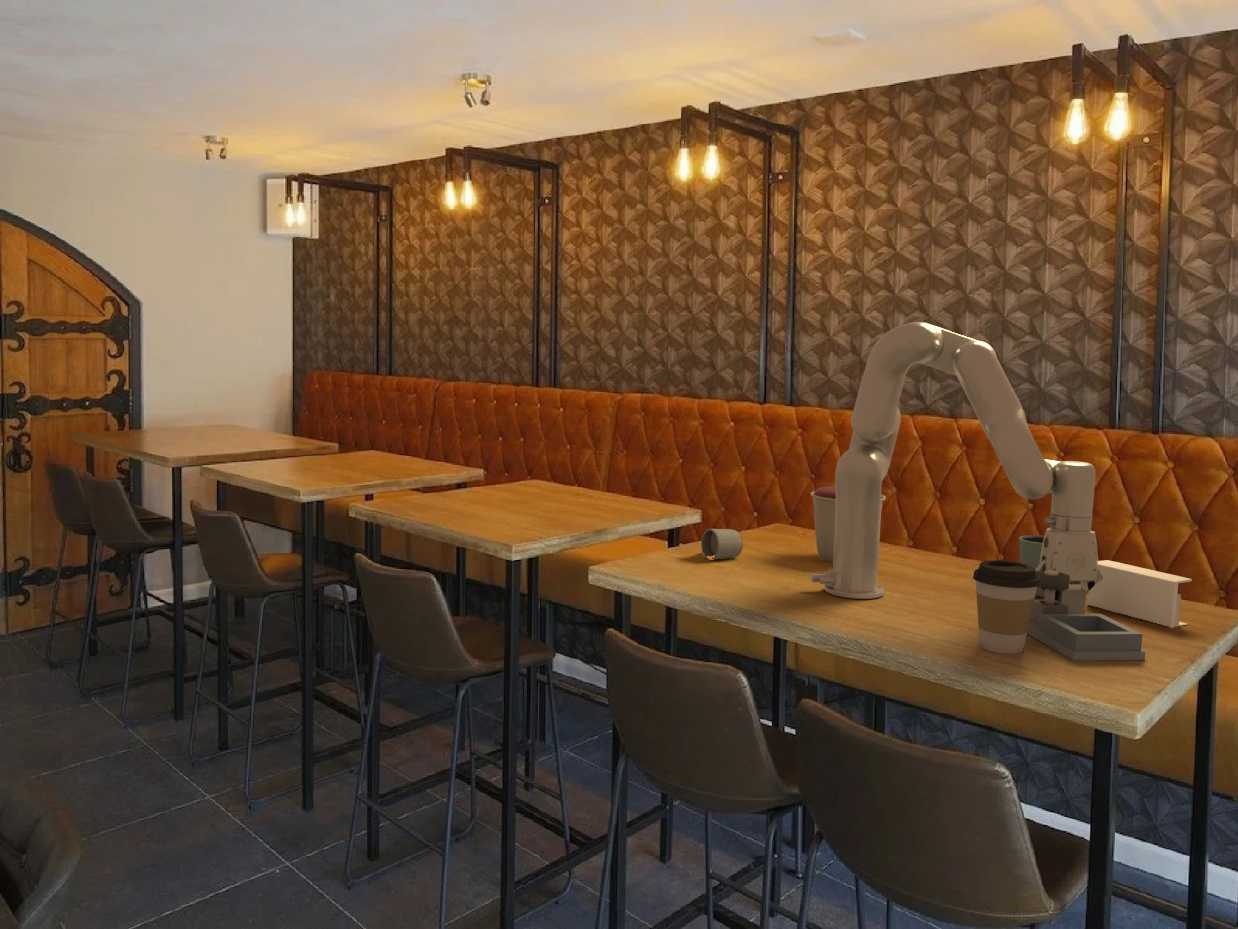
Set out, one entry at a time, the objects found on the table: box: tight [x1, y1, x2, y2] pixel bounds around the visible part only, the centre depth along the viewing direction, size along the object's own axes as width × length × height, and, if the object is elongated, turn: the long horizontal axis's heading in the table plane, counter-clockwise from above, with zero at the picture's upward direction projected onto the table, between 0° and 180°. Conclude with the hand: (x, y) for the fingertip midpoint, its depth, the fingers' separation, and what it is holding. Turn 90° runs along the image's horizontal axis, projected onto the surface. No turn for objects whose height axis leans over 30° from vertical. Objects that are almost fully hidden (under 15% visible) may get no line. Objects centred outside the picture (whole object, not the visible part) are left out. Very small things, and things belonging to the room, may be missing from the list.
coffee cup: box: [972, 559, 1041, 655], centre depth 179 cm, size 11×11×15 cm
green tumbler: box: [1018, 534, 1045, 598], centre depth 221 cm, size 10×10×12 cm
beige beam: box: [1086, 559, 1193, 628], centre depth 205 cm, size 20×6×9 cm, turn 28°
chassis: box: [1027, 599, 1146, 661], centre depth 185 cm, size 13×22×6 cm, turn 5°
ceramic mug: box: [700, 528, 744, 560], centre depth 251 cm, size 11×8×8 cm
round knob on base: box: [1036, 570, 1070, 605], centre depth 191 cm, size 6×6×7 cm
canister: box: [810, 485, 886, 563], centre depth 249 cm, size 18×18×21 cm
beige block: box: [1055, 582, 1087, 614], centre depth 203 cm, size 5×6×7 cm
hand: (1063, 611), depth 203 cm, fingers closed on beige block, 5 cm apart
